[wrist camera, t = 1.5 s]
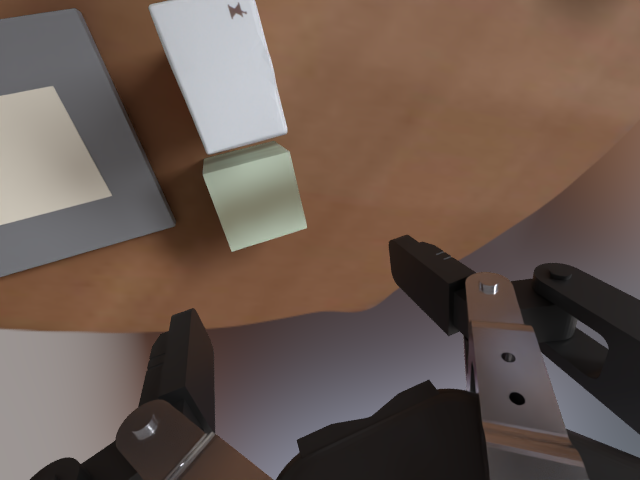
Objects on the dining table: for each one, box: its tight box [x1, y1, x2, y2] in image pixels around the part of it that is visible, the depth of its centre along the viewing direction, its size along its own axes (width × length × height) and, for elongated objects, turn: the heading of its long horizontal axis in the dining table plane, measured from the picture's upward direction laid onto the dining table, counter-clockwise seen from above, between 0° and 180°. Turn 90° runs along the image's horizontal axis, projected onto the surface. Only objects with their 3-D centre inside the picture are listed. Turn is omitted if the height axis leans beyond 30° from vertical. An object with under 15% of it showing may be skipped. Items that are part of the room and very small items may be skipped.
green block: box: [203, 141, 307, 252], centre depth 25 cm, size 6×6×6 cm
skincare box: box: [149, 0, 287, 155], centre depth 18 cm, size 6×4×12 cm
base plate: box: [0, 8, 176, 277], centre depth 21 cm, size 15×14×1 cm
